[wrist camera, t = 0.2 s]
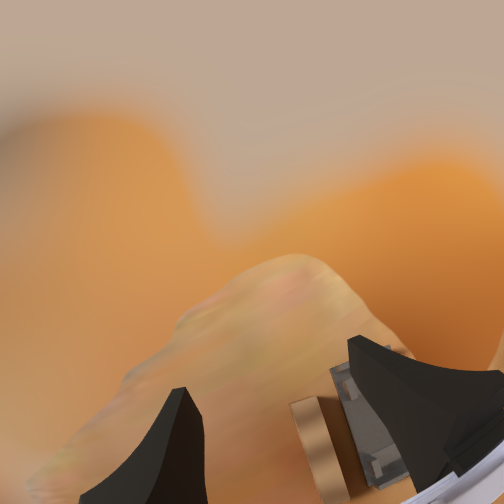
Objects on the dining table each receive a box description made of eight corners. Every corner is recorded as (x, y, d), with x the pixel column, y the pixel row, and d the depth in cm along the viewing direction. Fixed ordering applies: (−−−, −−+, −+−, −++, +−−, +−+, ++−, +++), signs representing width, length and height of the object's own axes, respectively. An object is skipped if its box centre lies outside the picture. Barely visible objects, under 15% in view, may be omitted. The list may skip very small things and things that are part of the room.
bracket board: (417, 459, 29) (430, 463, 25) (367, 485, 29) (376, 493, 25) (381, 347, 40) (391, 341, 36) (329, 369, 39) (335, 365, 35)
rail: (342, 489, 29) (350, 499, 25) (320, 497, 29) (325, 508, 24) (311, 395, 37) (316, 395, 33) (288, 403, 37) (290, 404, 33)
